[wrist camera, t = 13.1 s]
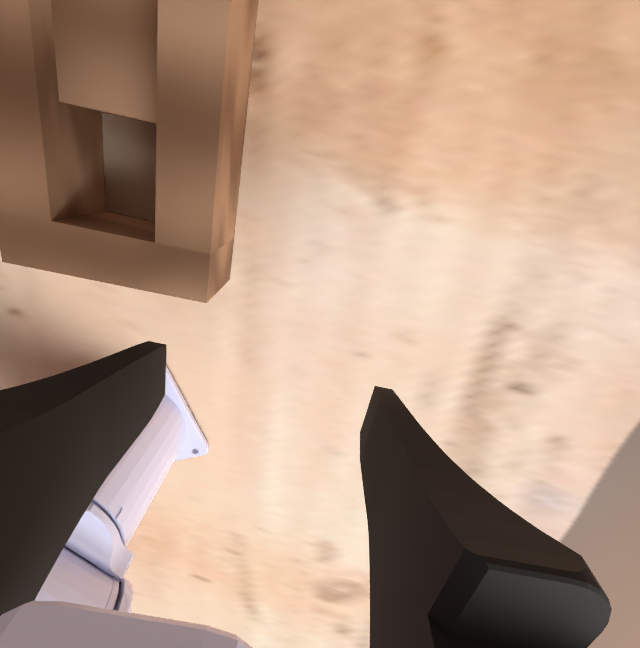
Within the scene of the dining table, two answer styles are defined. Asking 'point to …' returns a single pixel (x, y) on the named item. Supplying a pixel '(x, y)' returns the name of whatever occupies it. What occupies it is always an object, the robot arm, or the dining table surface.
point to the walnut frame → (131, 102)
